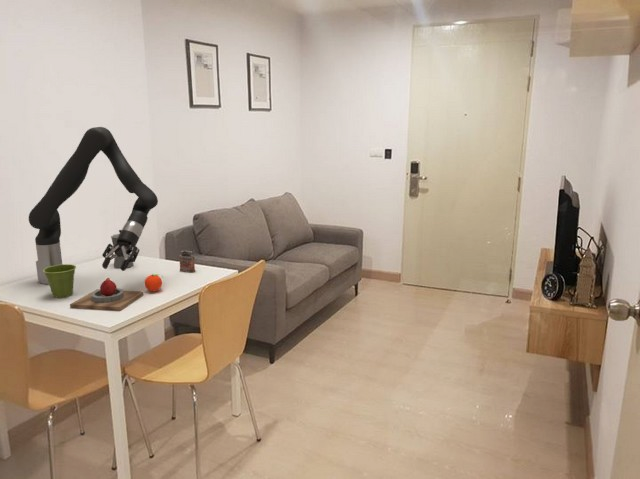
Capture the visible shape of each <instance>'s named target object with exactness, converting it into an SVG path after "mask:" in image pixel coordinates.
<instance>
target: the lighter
mask: <svg viewBox="0 0 640 479" xmlns="http://www.w3.org/2000/svg"><path fill="white" fill-rule="evenodd" d="M193 254H194V251H190V250H187V249H186V250H181V251H180V254H179V255H178V259H179V272H180V273H187V274H193V273H194V274H195V273H196V267H195V255H193Z"/></svg>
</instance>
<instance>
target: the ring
mask: <svg viewBox="0 0 640 479" xmlns="http://www.w3.org/2000/svg"><path fill="white" fill-rule="evenodd" d="M96 290H97V289H96ZM94 291H95V290H94ZM123 291H124V289H121V288H119V287H116V292H115V293H114V294H116V295H113V296H107V297H98V296H101V295H103V294H102V293H101V292H100V290H97V291H95V292H93V291H92V292H93V293H92V294H91V298H92V301H94V302H96V303H107V302H114V301H117V300H120V299H122V298H123V297H124V294H123Z"/></svg>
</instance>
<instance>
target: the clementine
mask: <svg viewBox="0 0 640 479" xmlns="http://www.w3.org/2000/svg"><path fill="white" fill-rule="evenodd" d="M162 279H164V277H162V278H161V277H160V275H159V274H157V273H155V274H149V275H148V276H147V277H146V278H145V280H144V286H145V288H146V290H148V291H149V292H158V291H159V290H160V289H161V288H162V286H163V281H162Z"/></svg>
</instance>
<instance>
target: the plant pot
mask: <svg viewBox="0 0 640 479" xmlns="http://www.w3.org/2000/svg"><path fill="white" fill-rule="evenodd" d="M76 269H77V266H76V265H74V264H72V263H71V264H69V263H67V264H63V263H62V265H55V266H50V267H47V268H45V269H44V270H43V272H44V273H45V275H46V277H47V279H48V282H49V284H48V285H49V288H50V291H51V294H52V297H53V298H58V299H61V298H67V297H69V296H72V295H73V294H74V282H75V280H74V278H75V273H76V272H75V271H76Z"/></svg>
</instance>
